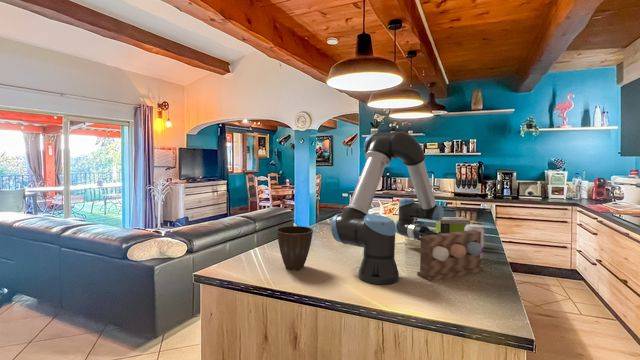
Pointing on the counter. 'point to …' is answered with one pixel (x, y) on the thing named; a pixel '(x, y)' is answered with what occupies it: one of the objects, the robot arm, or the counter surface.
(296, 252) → the plant pot
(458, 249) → the terracotta long rounded piece
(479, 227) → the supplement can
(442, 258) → the ivory button
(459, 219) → the tea box
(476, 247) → the slate button
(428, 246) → the brown wooden rectangular frame
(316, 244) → the counter surface
